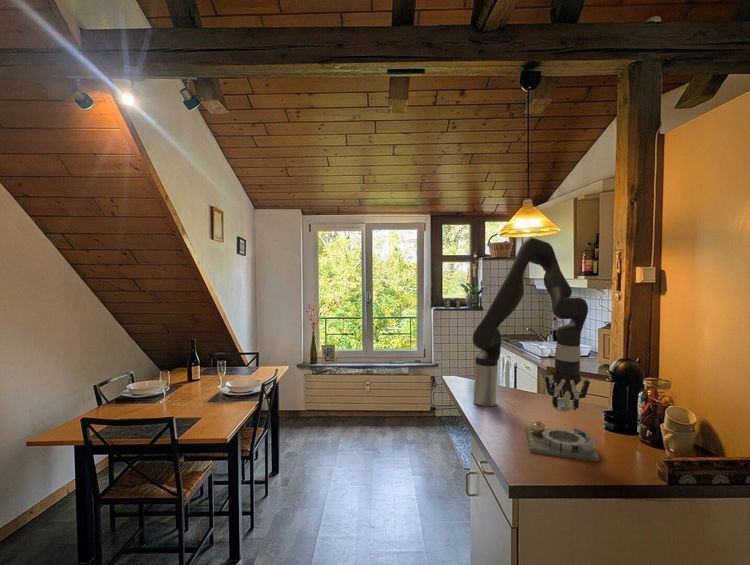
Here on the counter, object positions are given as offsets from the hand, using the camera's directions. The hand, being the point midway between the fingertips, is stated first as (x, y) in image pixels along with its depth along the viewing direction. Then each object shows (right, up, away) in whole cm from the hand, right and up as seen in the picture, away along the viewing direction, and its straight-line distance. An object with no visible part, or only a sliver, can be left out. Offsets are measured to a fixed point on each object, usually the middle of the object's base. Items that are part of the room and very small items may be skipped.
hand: (565, 408), depth 137 cm
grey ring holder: (-1, -13, +2) cm, 13 cm away
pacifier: (-1, -1, 0) cm, 1 cm away
